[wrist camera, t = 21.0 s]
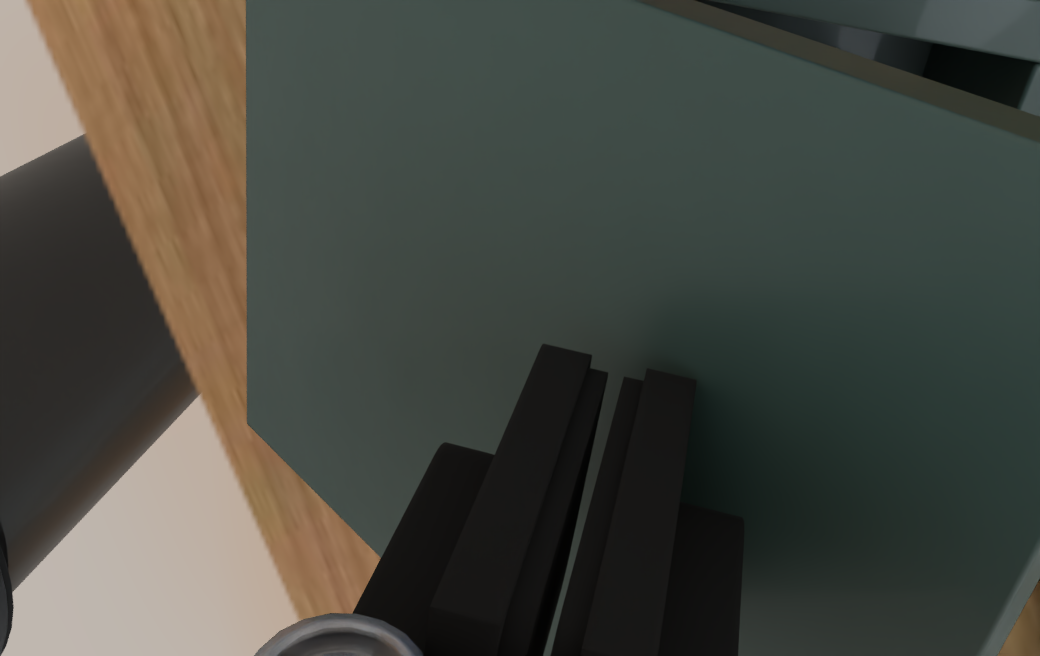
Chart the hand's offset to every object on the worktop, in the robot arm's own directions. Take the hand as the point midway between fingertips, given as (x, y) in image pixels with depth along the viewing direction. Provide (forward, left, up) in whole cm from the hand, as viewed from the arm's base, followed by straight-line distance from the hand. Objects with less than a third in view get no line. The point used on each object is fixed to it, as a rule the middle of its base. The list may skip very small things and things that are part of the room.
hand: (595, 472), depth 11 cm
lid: (-1, 0, -2) cm, 3 cm away
